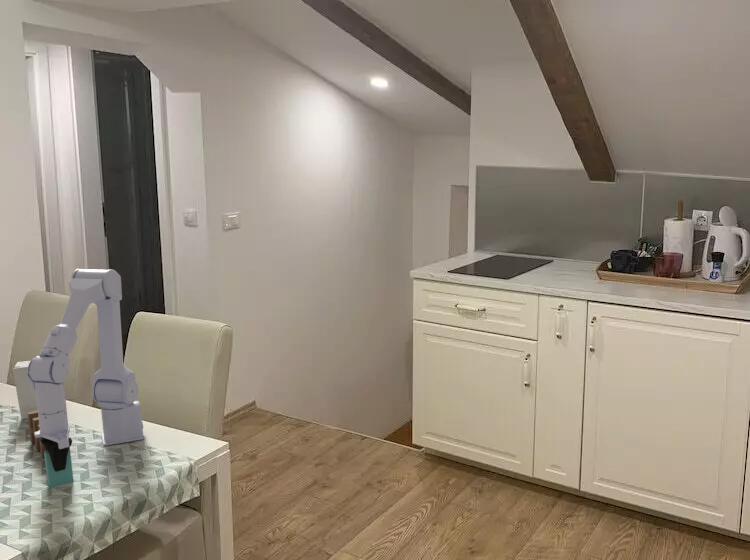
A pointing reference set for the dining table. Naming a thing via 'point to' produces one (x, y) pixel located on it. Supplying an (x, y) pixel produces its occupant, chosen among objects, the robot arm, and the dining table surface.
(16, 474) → the dining table surface
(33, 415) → the walnut domino
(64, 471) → the teal domino
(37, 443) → the walnut domino
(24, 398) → the skincare box
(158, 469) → the dining table surface
